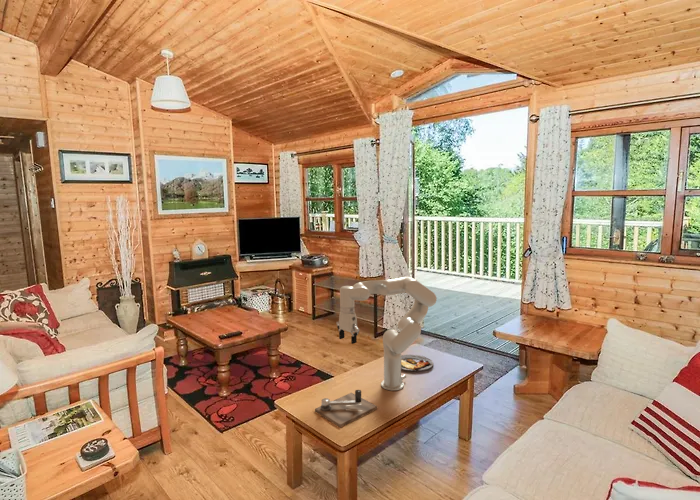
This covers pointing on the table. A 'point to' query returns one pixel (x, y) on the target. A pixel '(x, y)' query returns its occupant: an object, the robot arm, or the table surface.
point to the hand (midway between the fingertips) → (347, 340)
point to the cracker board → (346, 411)
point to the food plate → (415, 363)
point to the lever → (327, 402)
